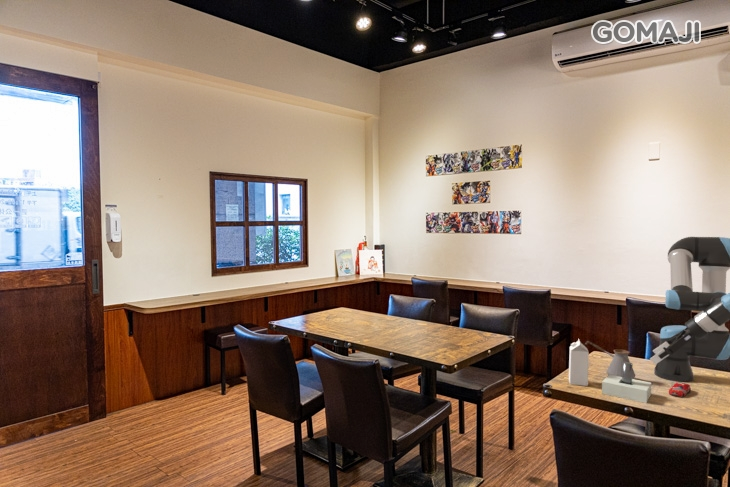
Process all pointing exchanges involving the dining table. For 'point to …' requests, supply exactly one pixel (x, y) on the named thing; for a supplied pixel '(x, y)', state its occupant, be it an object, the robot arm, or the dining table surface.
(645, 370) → the dining table surface
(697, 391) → the dining table surface
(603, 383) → the hole block
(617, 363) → the coffee pot
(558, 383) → the dining table surface
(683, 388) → the race car
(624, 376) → the peg
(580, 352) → the milk carton
